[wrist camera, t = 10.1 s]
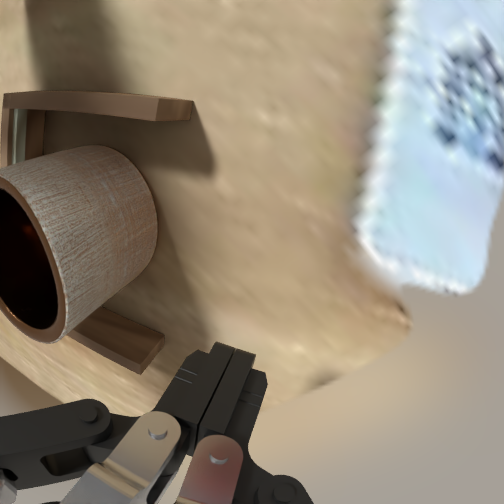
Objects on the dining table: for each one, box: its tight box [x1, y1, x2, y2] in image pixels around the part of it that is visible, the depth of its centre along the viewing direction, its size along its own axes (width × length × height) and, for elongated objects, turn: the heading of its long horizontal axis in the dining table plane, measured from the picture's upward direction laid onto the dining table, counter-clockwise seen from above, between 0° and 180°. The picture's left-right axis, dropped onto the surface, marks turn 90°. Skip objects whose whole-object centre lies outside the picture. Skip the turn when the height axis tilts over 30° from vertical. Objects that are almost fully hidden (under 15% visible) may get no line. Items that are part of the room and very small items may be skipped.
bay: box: [0, 91, 193, 375], centre depth 21 cm, size 19×15×4 cm
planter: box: [0, 145, 158, 344], centre depth 19 cm, size 11×11×10 cm
